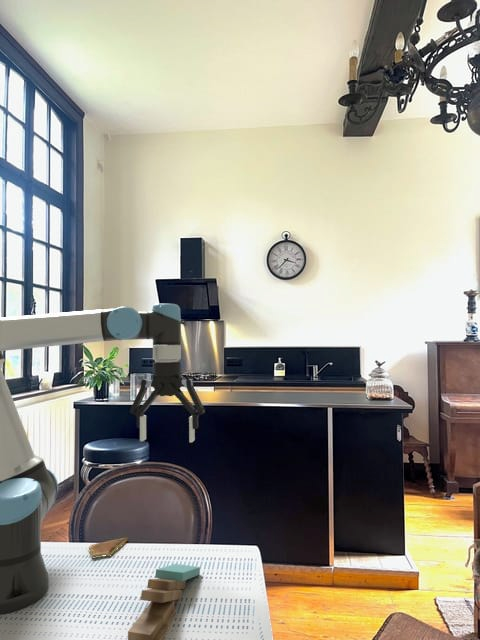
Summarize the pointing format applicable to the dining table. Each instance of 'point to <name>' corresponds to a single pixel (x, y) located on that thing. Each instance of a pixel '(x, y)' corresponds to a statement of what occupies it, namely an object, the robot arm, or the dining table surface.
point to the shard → (106, 547)
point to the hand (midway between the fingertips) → (167, 440)
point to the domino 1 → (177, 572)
